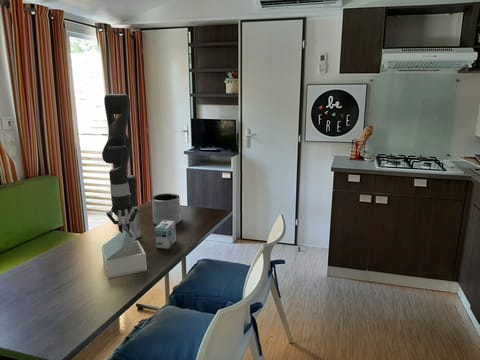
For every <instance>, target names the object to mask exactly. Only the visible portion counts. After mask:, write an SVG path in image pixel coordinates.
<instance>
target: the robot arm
mask: <svg viewBox="0 0 480 360" xmlns="http://www.w3.org/2000/svg"><path fill="white" fill-rule="evenodd" d="M103 99H104V100H103V102H104V110H105V111H104V112H105V116H106V119H107V120H106V121H107V125H108V133H107V134H108V136H107V141H106V142H105V144H104V147H103V149H102V153H101V157H102V159H103V161H104V163H106V164H109V165H110V164H112V168H111V169H110V170H109V172H108V174H109V182H110V185H109V186H110V189H109V190H110V197H111V208H110V210H109V211H106V213H105V214H106V216H107V218H108V219H109V220H110V221H111V223H113V224H114V225H117V227H118V231H119V233H120V232H121V233H123V230H124V229H123V227H122V224H121V219H123V220H124V222H125V223H126V225H127V227H128V230H130V228H131V230H132V232H133V233H134V235H135V237H136V239H138V238H140V237H141V226H140V214H139V203H138V202H139V201H138V185H137V184H138V182H137V178H136V177H137V176H135V175H134V174H132V175H128V164H129V160H130V156H131V152H132V149H131V141H130V138H129V135H127V125H128V122H129V117H130V112H131V100H130V97H129V95H128V94H126V93H108V94H105V95H104V98H103ZM115 115H118V117H117V118H116V117H115ZM113 215H115V216H116V217H117V218H116V219H115V218H114V216H113Z"/></svg>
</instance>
